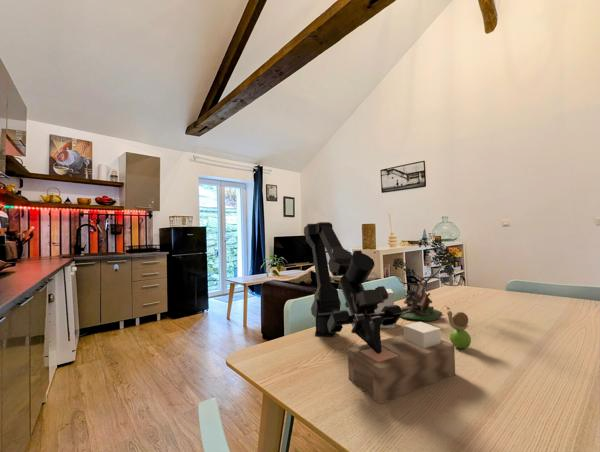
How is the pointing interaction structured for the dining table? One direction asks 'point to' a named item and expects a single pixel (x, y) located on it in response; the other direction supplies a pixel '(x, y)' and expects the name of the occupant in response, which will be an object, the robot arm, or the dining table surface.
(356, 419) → the dining table surface
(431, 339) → the white box
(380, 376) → the brown striped box
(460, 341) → the snail figurine
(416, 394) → the dining table surface
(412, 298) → the bonsai tree
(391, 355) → the salmon pink block
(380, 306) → the supplement box
